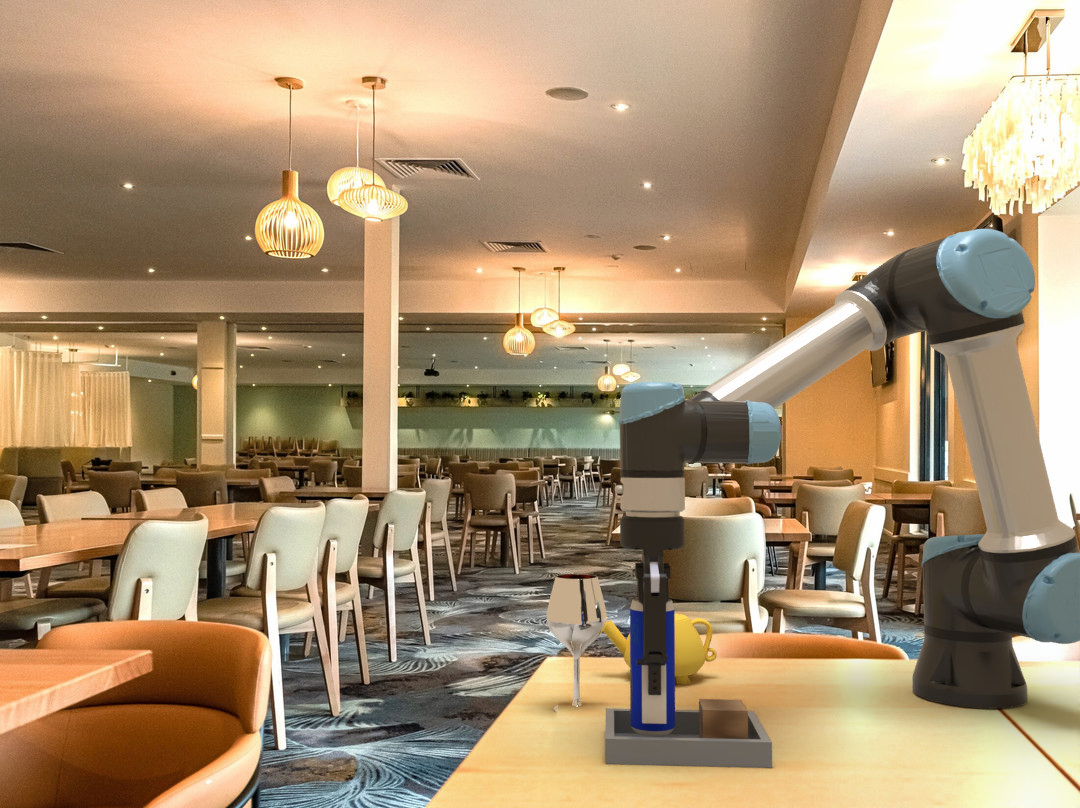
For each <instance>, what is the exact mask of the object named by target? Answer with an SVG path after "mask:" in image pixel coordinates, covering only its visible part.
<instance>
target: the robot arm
mask: <svg viewBox="0 0 1080 808" xmlns="http://www.w3.org/2000/svg"><path fill="white" fill-rule="evenodd" d="M1035 288H1036V276H1035V269H1034V265H1033V263H1032V261H1031V259H1030V257H1029V255H1028V253H1027V252H1026V250H1025V249H1024V248H1023V246H1021V244H1020V243H1019V242H1017V240H1015V239H1014V238H1012V237H1009V236H1008V235H1007V234H1006V233H1004V232H1002V231H999V230H996V229H993V228H979V229H977V228H976V229H972V230H968V231H962V232H961V231H959V232H957V233H955V234H952V235H949V236H947V237H944V238H941V239H938V240H935V241H932V242H929V243H926V244H923V245H921V246H917V247H916V246H915V247H913V248H910V249H907V250H904V251H902V252H900V253H898V254H896V255H894V256H892V257H891V258H890V259H888V260H886V261H884V262H883V263H882V264H881V265H879V266H878V267H876V268H875V269H873V270H872V271H870V272H869V273H867V274H866V275H864V276H863V277H862V278H861V279H859V280H858V281H856V282H855V283H854V284H852V285H851V286H849V287H848V288H846V289H844V290H843V291H841V292H840V293H838V294H837V295H836V297H835V300H834V305H833V306H831V307H829V308H828V309H826V310H825V311H823V312H822V313H820V314H819V315H817V316H816V317H814V318H813V319H811V320H809V321H808V322H805V324H803V325H802V326H800V327H799V328H797V329H796V330H794V331H792V332H790V333H789V334H787V335H786V336H784V337H783V338H781V339H780V340H778V341H776V342H775V343H773V344H772V345H770V346H768V347H767V348H766V349H764V350H762V351H761V352H759V353H758V354H756V355H754V356H753V357H752V358H750V359H749V360H747V361H745V362H744V363H741V364H740V365H739V366H738V367H736V368H734V369H733V370H731V371H730V372H727V373H726V374H725V375H724V376H722V377H720V378H719V379H717V380H716V381H714V382H713V383H711V384H710V385H708V386H706V387H705V388H703V389H702V390H700V391H699V392H698V393H696V394H694V395H692V396H691V397H689V398H687V399H686V395H685V390H684V386H683V385H682V384H680V383H678V382H669V381H642V382H641V381H640V382H633V383H628V384H626V385H624V387H623V388H622V390H621V394H620V401H619V415H618V416H619V417H618V425H619V451H620V452H619V454H620V455H619V456H620V457H619V458H620V459H619V460H620V461H619V462H620V465H619V467H620V471H619V472H620V473H619V474H620V475H619V476H620V483H621V484H617V485H616V486H615V487H614V492H615V494H618V495H619V494H622V495H621V496H620V509H621V511H622V512H625V515H622V516H621V518H619V543H620V546H621V547H622V548H624V549H627V550H628V549H629V550H641V561H639V562H635V564H634V567H635V569H634V570H635V571H634V572H635V573H634V575H635V579H636V586H637V587H636V593H637V598H638V601H639V603H641V604H642V605H643V657H642V659H637V665H642V723H654V724H666V664H665V663H666V662H667V660H668V656H667V654H666V603H667V602H668V599H670V598H669V597H670V596H669V581H670V579H671V565H670V563H669V562H664V551H665V550H666V551H667V550H670V551H673V550H679V549H682V548H683V547H684V546H685V544H686V539H685V537H686V536H685V533H686V532H685V518H684V517H683V516H681V512H683V511H685V510H686V492H685V491H686V488H685V487H686V485H685V484H686V480H685V479H686V477H685V464H745V465H751V464H760V463H762V464H763V463H767V462H770V461H771V460H772V459H774V457H775V456H776V455H777V453H778V451H779V448H780V446H781V439H782V425H781V421H780V417H779V414H778V412H777V410H776V409H778V408H779V407H781V406H782V405H783V404H785V403H787V402H788V401H789V400H790V399H792V398H794V397H795V396H797V395H798V394H800V393H802V392H803V391H804V390H806V389H807V388H809V387H811V386H812V385H814V384H815V383H816V382H818V381H819V380H821V379H823V378H824V377H826V376H827V375H829V374H830V373H832V372H833V371H835V370H837V369H838V368H840V367H841V366H843V365H844V364H846V363H847V362H849V361H850V360H852V359H853V358H854V357H856V356H858V355H860V353H863V351H870V352H875V351H878V350H880V349H882V348H883V347H884V346H886V345H888V344H890V343H891V342H893V341H895V340H898V339H901V338H905V337H907V336H910V335H913V334H917V333H921V332H926V334H927V339H928V343H929V347H930V348H931V349H934V350H935V351H936V352H938V353H940V354H942V355H943V356H944V358H945V360H946V364H947V369H948V372H949V377H950V382H951V385H952V386H951V387H952V389H953V393H954V397H955V402H956V406H957V410H958V413H959V414H958V415H959V418H960V422H961V426H962V427H961V428H962V430H963V435H964V438H965V443H966V448H967V450H968V451H967V452H968V456H969V459H970V463H971V468H972V472H973V477H974V480H975V485H976V489H977V494H978V496H979V501H980V505H981V509H982V513H983V514H982V515H983V517H984V523H985V527H986V531H985V533H981V534H980V533H977V534H961V535H960V534H959V535H958V534H957V535H955V534H954V535H943V536H933V537H929V538H928V539H927V540H926V541H925V542H924V544H923V546H922V547H923V550H922V561H921V568H922V593H923V595H922V596H923V623H924V624H923V625H924V626H923V627H924V628H923V629H924V630H923V631H924V633H923V634H924V637H923V638H924V639H923V642H922V645H921V648H920V652H919V654H918V657H917V658H918V659H917V660H916V664H915V667H914V669H913V673H912V680H911V681H912V693H913V694H915V695H916V696H918V697H919V698H922V699H925V700H928V701H932V702H936V703H940V704H945V705H951V706H957V707H965V708H973V709H974V708H978V709H1008V708H1017V707H1020V706H1023V705H1025V704H1026V703H1028V686H1027V681H1026V679H1025V677H1024V674H1023V671H1022V668H1021V666H1020V663H1019V660H1018V657H1017V654H1016V652H1015V649H1014V645H1013V635H1017V636H1020V637H1025V638H1029V639H1032V640H1035V641H1037V642H1040V643H1053V644H1061V645H1068V644H1070V645H1071V644H1073V643H1075V644H1076V643H1077V642H1080V549H1079V542H1078V539H1077V535H1076V531H1075V530H1074V528H1072V527H1070V526H1069V525H1067V524H1066V523H1064V522H1063V521H1061V520H1060V519H1059V516H1058V512H1057V508H1056V504H1055V499H1054V495H1053V491H1052V487H1051V484H1050V479H1049V474H1048V471H1047V466H1046V463H1045V458H1044V455H1043V449H1042V445H1041V442H1040V437H1039V434H1038V430H1037V425H1036V422H1035V421H1036V420H1035V416H1034V413H1033V407H1032V405H1031V400H1030V395H1029V392H1028V388H1027V383H1026V379H1025V374H1024V371H1023V367H1022V362H1021V359H1020V354H1019V350H1018V346H1017V342H1016V341H1017V339H1018V336H1019V335H1020V333H1021V332H1022V330H1024V328H1025V326H1026V323H1025V319H1024V315H1023V310H1024V309H1025V308H1026V307H1027V306H1028V305H1029V303H1030V302H1031V299H1032V298H1033V297H1032V295H1031V294H1032V293H1034V292H1035ZM650 651H660V652H650Z"/></svg>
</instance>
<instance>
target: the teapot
mask: <svg viewBox="0 0 1080 808" xmlns="http://www.w3.org/2000/svg"><path fill="white" fill-rule="evenodd" d="M696 624H702V625H704V626H705V628H706V636H705V637H706V638H705V641H704V644H703V641H702V637H701V636H700V634H699V632H698V630H697V628H696V626H694V625H696ZM602 632H603V633H604V634H605V635H606V636H607V638H608V639H609V640H610V641H611V642H612V643H613V644H614V646H615V647H616V648H617V649H618V650H619V652H620V654H622V655H623V660H624V662H625V663H626V665H627V666H628V668H630V632H629V633H628V635H627V638H626V637H625V636H624V635H623V633H622V632H621V631H620V629H619V628H618V627H617V626H616V624H615V623H614V622H613V621H612V619H609V620H608V621H606V625H605V628H604V630H603V631H602ZM712 638H713V626H712V624H711V623H710V622H709V621H708V620H706V619H704V618H700V617H695V618H693V619H690V618H689V617H688V615H685V614H681V613H675V683H676V684H679V685H691V684H692V681H691V680H690V678H689V676H693V675H695V674H697V673H698V672H699V671H700V670H701V668H702V667H703V666H704V664H705V663H706V662H707V663H709V662H713V661H715V660H716V658H717V651H716V649H715V648H713V647H710V645H711V642H712ZM709 652H711V653H712V654H711V655H710V656H709Z"/></svg>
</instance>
